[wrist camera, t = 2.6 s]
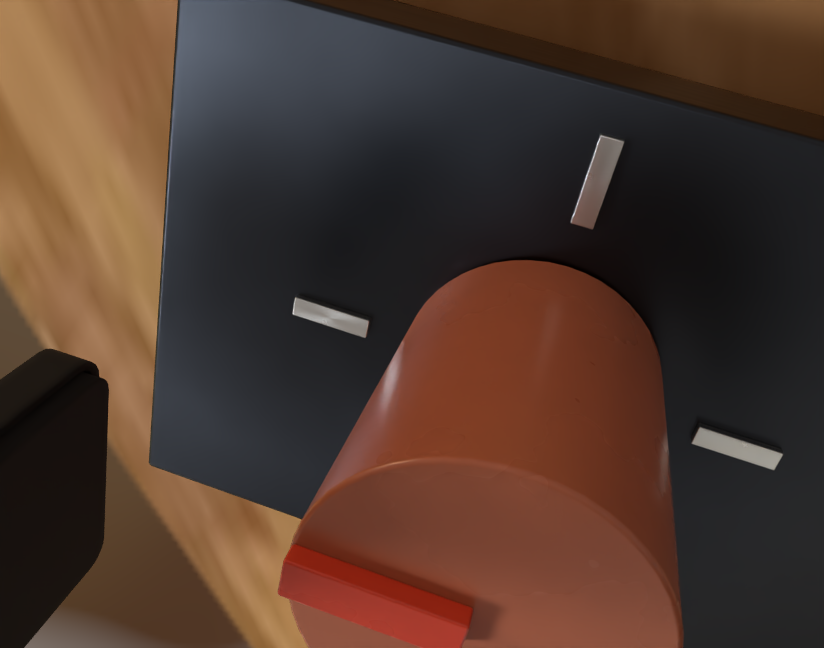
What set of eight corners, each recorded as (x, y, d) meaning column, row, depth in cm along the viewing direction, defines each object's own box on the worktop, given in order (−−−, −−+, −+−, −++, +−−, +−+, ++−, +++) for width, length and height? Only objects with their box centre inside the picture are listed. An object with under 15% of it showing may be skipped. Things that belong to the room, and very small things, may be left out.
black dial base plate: (1059, 179, 12) (1160, 234, 10) (780, 603, 17) (803, 707, 15) (248, -40, 14) (171, -36, 12) (202, 405, 19) (142, 470, 16)
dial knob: (705, 306, 12) (762, 574, 7) (609, 514, 14) (600, 834, 9) (435, 224, 12) (304, 418, 7) (382, 437, 15) (253, 700, 9)
